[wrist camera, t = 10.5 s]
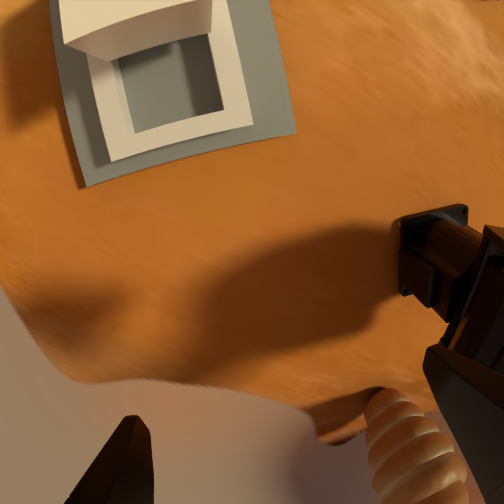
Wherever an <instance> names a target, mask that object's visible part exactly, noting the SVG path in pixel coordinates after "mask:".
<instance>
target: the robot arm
mask: <svg viewBox="0 0 504 504" xmlns="http://www.w3.org/2000/svg"><path fill="white" fill-rule="evenodd" d="M462 210H463V211H462ZM408 222H409V225H408V226H407V227H406V225H407V223H408ZM467 223H468V206H466V205H464V204H458V205H454V206H449V207H445V208H441V209H437V210H432V211H428V212H424V213H420V214H416V215H411V216H407V217H405V218H403V219H402V221H401V246H400V250H399V273H398V279H399V293H400V294H401V295H402V296H404V297H405V296H408V295H411V294H414V296H415V297H416V298H417V299H418V300H419V301H420V302H421V303H422V304H423V305H424V306H425V307H426V308H432V309H433V310H434V311H435V312H436V313H437V314H438V315H439V316H440V317H441V318H442V319H443V320H444V321H445V322H446V323H449V322H450V323H449V325H448V327H447V329H446V331H445V333H444V335H443V337H441V339H440V341H439V343H438V344H435V345H432V346H430V347H428V348H427V349H426V353H425V357H424V361H423V371H424V374H425V376H426V379H427V381H428V383H429V386H430V388H431V390H432V393H433V395H434V398H435V400H436V403H437V405H438V407H439V409H440V411H441V413H442V415H443V417H444V419H445V420H446V422H447V424H448V426H449V428H450V430H451V432H452V434H453V436H454V438H455V440H456V442H457V443H458V445H459V447H460V449H461V451H462V453H463V455H464V457H465V459H466V461H467V464H468V466H469V468H470V469H471V472H472V474H473V476H474V478H475V480H476V483H477V484H478V487H479V489H480V491H481V493H482V495H483V498H484V500H485V503H486V504H504V228H501V227H496V226H491V225H485V226H484V229H483V234H481V233H479V232H478V231H476V230H475V229H473V228H471V227H470V226H468V225H467ZM405 289H406V290H405ZM404 290H405V291H404ZM64 504H154V470H153V460H152V449H151V436H150V432H149V429H148V428H147V426H146V425H145V424H144V422H143V421H142V420H141V418H140V417H139V416H137V415H130V416H126V417H124V418H123V420H122V421H121V422H120V424H119V425H118V427H117V428H116V430H115V431H114V432H113V434H112V435H111V437H110V438H109V440H108V441H107V442H106V444H105V445H104V447H103V448H102V450H101V451H100V452H99V454H98V455H97V457H96V458H95V460H94V461H93V462H92V464H91V465H90V467H89V468H88V470H87V471H86V472H85V474H84V475H83V477H82V478H81V480H80V481H79V482H78V484H77V485H76V487H75V488H74V490H73V491H72V493H71V494H70V497H69V498H67V500H66V501H65V502H64Z"/></svg>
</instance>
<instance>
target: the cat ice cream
mask: <svg viewBox="0 0 504 504" xmlns="http://www.w3.org/2000/svg"><path fill="white" fill-rule="evenodd" d="M364 416H365V420H366V423H367V425H368V426H367V429H366V433H365V439H366V443H367V447H368V449H369V453H368V465H369V467H370V469H371V471H372V472H373V473H374V474H373V477H372V481H371V487H372V490H373V491H374V493H375V494H376V495H377V496H378V497H379V498H380V500H379V503H378V504H468V492H467V490H466V488H465V485H464V482H465V480H466V476H467V471H466V468H465V466H464V464H463V462H462V461H461V459H460V458H459V456H458V455H457V454H456V453H454V449H453V445H452V442H451V440H450V439H449V438H448V437H447V436H446V435H444V434H443V433H441V432H439V429H438V427H437V425H436V424H435V423H434V422H433V421H432V420H431V419H429V418H427V417H425V415H424V413H423V412H422V410H421V409H420V408H419V407H418V406H417V405H415V404H413V403H411V402H409V399H408V398H407V397H406V396H405V395H404V394H403V393H402V392H400V391H398V390H396V389H393V388H386V389H383V390H380V391H378V392H377V393H376V394H374V395H373V396H372V398H371V399H370V400H369V401H368V403H367V405H366V407H365V410H364Z"/></svg>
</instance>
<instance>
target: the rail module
mask: <svg viewBox="0 0 504 504" xmlns="http://www.w3.org/2000/svg"><path fill="white" fill-rule="evenodd" d="M59 7H60V17H61V25H62V33H63V40H64V44H65V45H67V46H70V47H73V48H75V49H78V50H80V51H82V52H85V53H87V54H90V55H92V56H94V57H97V58H99V59H101V60H104V61H106V62H109V61H112V60H114V59H117V58H120V57H123V56H126V55H129V54H133V53H136V52H139V51H142V50H145V49H148V48H152V47H155V46H159V45H162V44H166V43H170V42H173V41H177V40H181V39H186V38H190V37H194V36H197V35H202V34H207V33H211V24H212V0H59Z"/></svg>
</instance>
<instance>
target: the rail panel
mask: <svg viewBox="0 0 504 504" xmlns="http://www.w3.org/2000/svg"><path fill="white" fill-rule="evenodd" d="M49 9H50V19H51V28H52V36H53V44H54V50H55V57H56V63H57V69H58V74H59V80H60V85H61V90H62V95H63V100H64V104H65V109H66V113H67V118H68V122H69V126H70V130H71V134H72V138H73V142H74V145H75V149H76V153H77V156H78V160H79V163H80V167H81V170H82V173H83V177H84V180H85V183H86V186H87V187H89V186H92V185H95V184H97V183H100V182H103V181H106V180H109V179H113V178H116V177H119V176H122V175H125V174H128V173H132V172H135V171H138V170H142V169H145V168H148V167H152V166H155V165H159V164H162V163H166V162H170V161H173V160H177V159H181V158H185V157H188V156H192V155H196V154H200V153H204V152H209V151H213V150H217V149H221V148H226V147H230V146H235V145H239V144H244V143H249V142H254V141H259V140H264V139H269V138H274V137H280V136H285V135H291V134H297V132H296V126H295V121H294V115H293V110H292V105H291V99H290V94H289V89H288V84H287V79H286V74H285V69H284V65H283V60H282V55H281V51H280V46H279V42H278V37H277V33H276V28H275V24H274V20H273V16H272V12H271V8H270V4H269V0H212V24H211V33H207V34H202V35H197V36H194V37H190V38H186V39H181V40H177V41H173V42H170V43H166V44H162V45H159V46H155V47H152V48H148V49H145V50H142V51H139V52H136V53H133V54H129V55H126V56H123V57H120V58H117V59H114V60H112V61H109V62H106V61H104V60H101V59H99V58H97V57H94V56H92V55H90V54H87V53H85V52H82V51H80V50H78V49H75V48H73V47H70V46H67V45H65V44H64V40H63V33H62V25H61V17H60V7H59V0H49Z"/></svg>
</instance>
